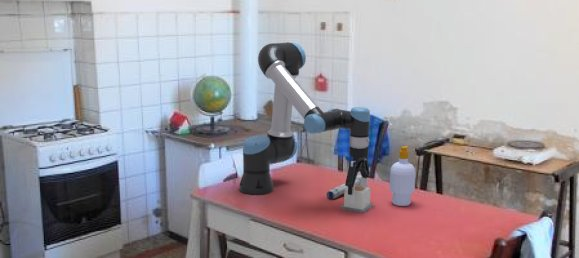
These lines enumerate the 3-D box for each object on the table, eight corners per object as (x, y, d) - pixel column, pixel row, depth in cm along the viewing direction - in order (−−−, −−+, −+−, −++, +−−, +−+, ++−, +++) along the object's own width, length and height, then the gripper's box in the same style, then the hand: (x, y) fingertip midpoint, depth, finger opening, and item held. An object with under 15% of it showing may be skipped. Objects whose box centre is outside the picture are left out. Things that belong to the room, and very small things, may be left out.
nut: (344, 206, 240) (344, 189, 238) (351, 200, 247) (352, 184, 245) (362, 209, 236) (363, 192, 235) (369, 204, 243) (370, 187, 242)
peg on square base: (340, 209, 240) (341, 187, 238) (350, 202, 248) (351, 181, 246) (363, 213, 235) (364, 191, 233) (373, 206, 244) (373, 185, 242)
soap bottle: (418, 203, 247) (421, 147, 242) (405, 209, 240) (408, 151, 235) (397, 198, 254) (400, 143, 249) (383, 203, 247) (386, 147, 242)
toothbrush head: (324, 189, 253) (358, 170, 270) (325, 204, 255) (359, 184, 272) (334, 192, 249) (368, 172, 267) (335, 206, 251) (369, 186, 269)
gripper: (355, 154, 224) (353, 207, 228) (379, 141, 245) (376, 190, 250) (337, 151, 228) (336, 204, 232) (362, 139, 249) (360, 188, 253)
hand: (357, 197), depth 241 cm, fingers open, 13 cm apart
